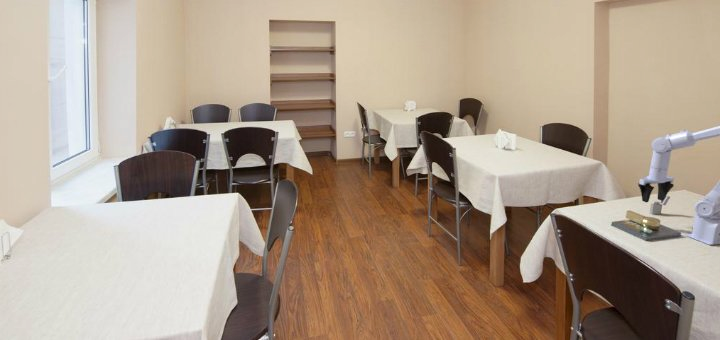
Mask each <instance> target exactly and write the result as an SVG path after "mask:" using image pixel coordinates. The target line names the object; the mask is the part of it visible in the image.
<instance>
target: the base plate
mask: <svg viewBox="0 0 720 340" xmlns="http://www.w3.org/2000/svg"><path fill="white" fill-rule="evenodd" d="M610 225H611V226H612V227H614V228H617V229H619V230H621V231H623V232H625V233H628V234H629V235H631V236H634V237H637V238H638V239H640V240H643V241H644V242H645V241H646V242H648V241H654V240H656V241H657V240H662V239H669V238H670V239H671V238H678V237H681V235H682V232H681V231H679V230H676V229H673V228H670V227H668V226H665V225H664V224H661V223H660V227H659V229H658V230H650V229H647V228H645V227H641V224H639V223H637V222H635V221H632V220H630V219H624V220H623V219H622V220H618V221H617V220H616V221H615V220H614V221H611V224H610Z"/></svg>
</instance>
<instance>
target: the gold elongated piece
mask: <svg viewBox="0 0 720 340" xmlns="http://www.w3.org/2000/svg"><path fill="white" fill-rule="evenodd" d="M625 213H626V214H625V219H626V220H632V221H635V222H637V223H639V224H641V227H645V228H647V229H650V230H658V229H659V227H660V224H661V220H660V219H659V218H656V217H651V216H645V215H643V214H640V213H637V212H636V211H633V210H626V212H625Z"/></svg>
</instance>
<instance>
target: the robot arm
mask: <svg viewBox="0 0 720 340" xmlns="http://www.w3.org/2000/svg"><path fill="white" fill-rule="evenodd" d="M716 137H717V138H718V137H720V125H718V126H714V127H711V128H707V129H703V130H700V131H696V132H693V131H692V130H686V129H683V130H680V131H679V132H677V133H673V134H671V133H669V134H666V136H660V137H657V138H655V139H654V140H652V142H651V148H652V156H651V161H650V167H649V174H648V175H647V176H646V177H644V178H640V179H639V181H638V184H637V185H638V187H639V190H640V193H641V199H642V200H641V201H642V202H645V203H649V201H650V198H651V194H652V192H653V190H654V189H655V186H652V185H654V184H655V185H656V184H657V200H659V201H660V202H661V201H664V199H665V197H666V195H667V196H668V194H669V192H671V191H670V190H672V189H673V188H674V180H675V178H674V177H671V176H668V175H667V174H668V169H669V165H670V159H671V153H672V151H673V150H674V151H675V150H680V149H683V148H690V147H693V146H695V144H696V143H697V142H698V141H702V140H708V139H711V138H716ZM694 211H695V215H694V220H693V227H692V232H691V233H686V234H685V236H686V237H688V238H691V239H693V240H696V241H698V242H701V243H703V244H707V245H709V246H713V245H714V246H715V245H720V180H719V181H718V182H717V184H715V186H714V187H713V188H712V189H711V190H710V191H709V192H708V193H707V194H706V195H705V196H704V197H703V198H702V199H700V200H697V202H696V203H695V204H694Z"/></svg>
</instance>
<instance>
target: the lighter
mask: <svg viewBox="0 0 720 340" xmlns="http://www.w3.org/2000/svg"><path fill="white" fill-rule="evenodd" d="M670 199H671V196H669V195H668V194H667V195H666V197H665V199H664V201H661V200H660V201H653V203H650V208H649V214H650V215H661V214H662V209H663V206H666V205H667V203H669V200H670Z"/></svg>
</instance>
